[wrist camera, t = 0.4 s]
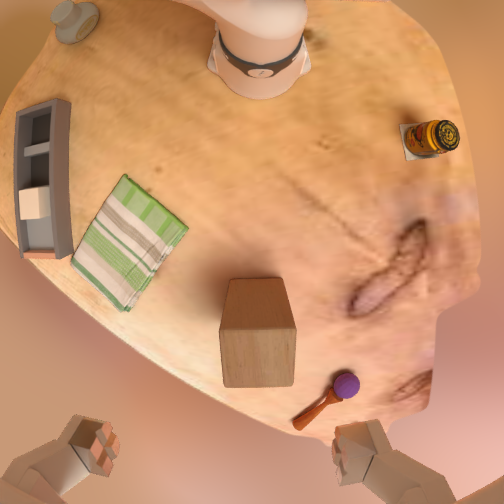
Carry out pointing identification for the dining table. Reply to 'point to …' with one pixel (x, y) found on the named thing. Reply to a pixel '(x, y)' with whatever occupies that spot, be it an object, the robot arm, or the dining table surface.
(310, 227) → the dining table surface
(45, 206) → the cream block
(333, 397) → the purple and brown maraca
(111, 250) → the dish towel
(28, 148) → the box
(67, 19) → the air freshener
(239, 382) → the wooden block
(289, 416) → the dining table surface
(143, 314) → the dining table surface
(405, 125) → the condiment
